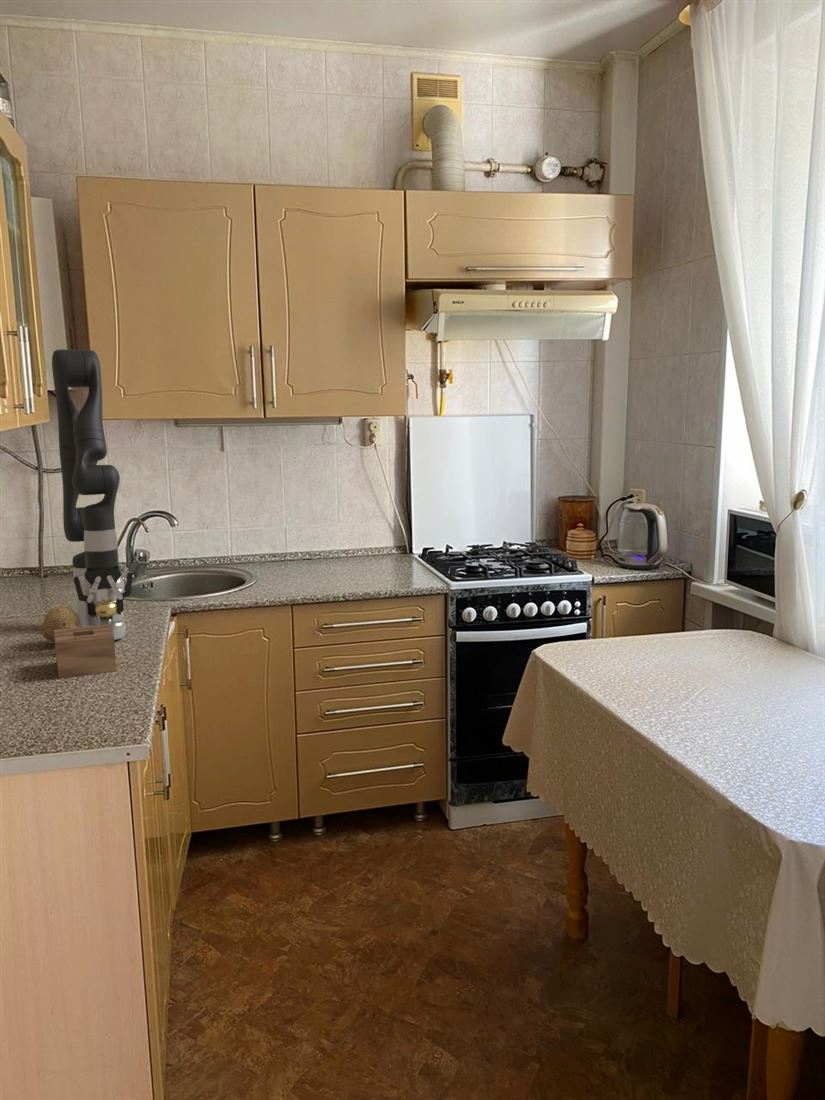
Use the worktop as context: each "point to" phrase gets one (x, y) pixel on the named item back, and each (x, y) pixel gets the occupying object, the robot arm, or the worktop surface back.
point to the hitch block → (84, 651)
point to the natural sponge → (58, 621)
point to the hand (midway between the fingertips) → (105, 615)
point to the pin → (106, 612)
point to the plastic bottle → (117, 619)
